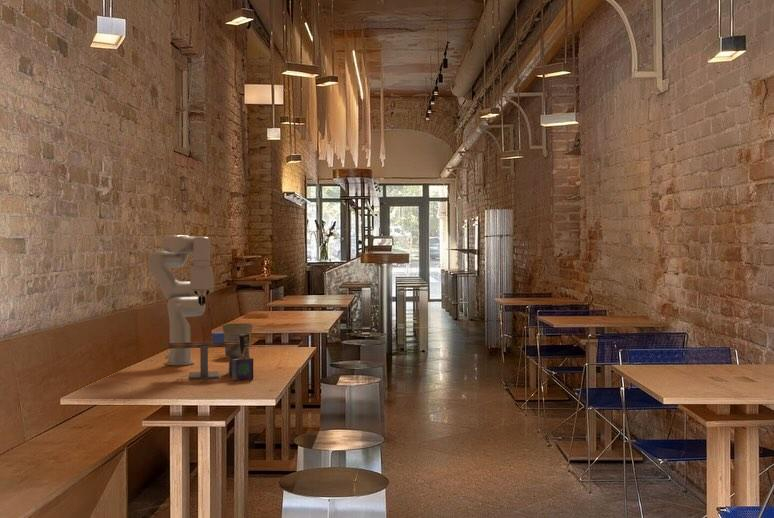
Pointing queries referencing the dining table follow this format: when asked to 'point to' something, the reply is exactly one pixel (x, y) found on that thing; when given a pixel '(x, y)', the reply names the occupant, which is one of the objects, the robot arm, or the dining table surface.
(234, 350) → the beam
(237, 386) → the dining table surface
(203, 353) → the stand
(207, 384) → the dining table surface
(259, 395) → the dining table surface
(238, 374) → the flask
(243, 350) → the coffee box
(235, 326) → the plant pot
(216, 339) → the blue block
